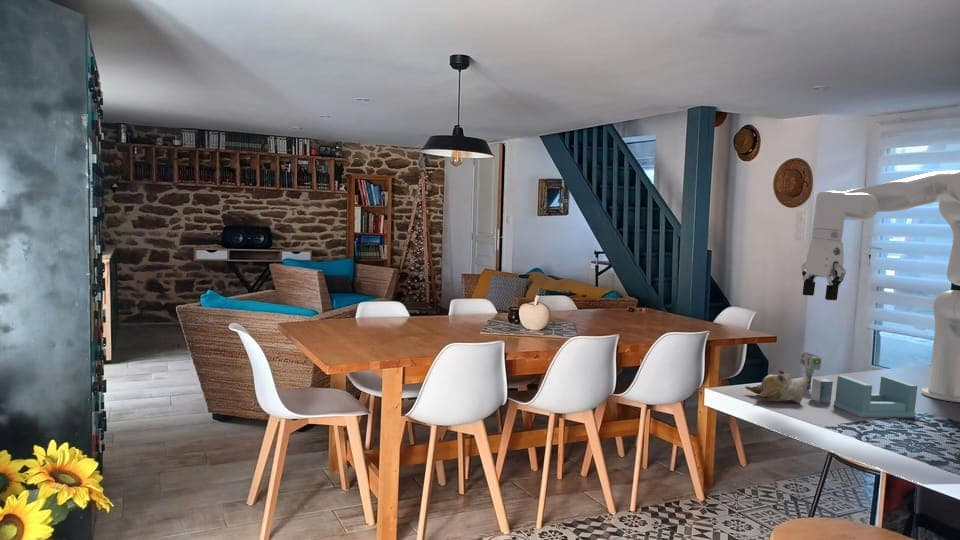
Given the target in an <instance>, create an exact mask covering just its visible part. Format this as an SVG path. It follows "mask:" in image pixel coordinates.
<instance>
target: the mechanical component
mask: <svg viewBox="0 0 960 540" xmlns="http://www.w3.org/2000/svg"><path fill="white" fill-rule="evenodd" d="M822 359H823V358H822V357H820V356H818V355H817V354H813V353H809V352H807V351H803V352H801V354H800V358H799V363H800V365H801V366H803V367H804V373H805V377H808V381H807V388H810V389H812V380H813V378H812V376H813V374H815V370H816V371H819V370H821V365H822ZM807 388H806V389H807Z"/></svg>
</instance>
